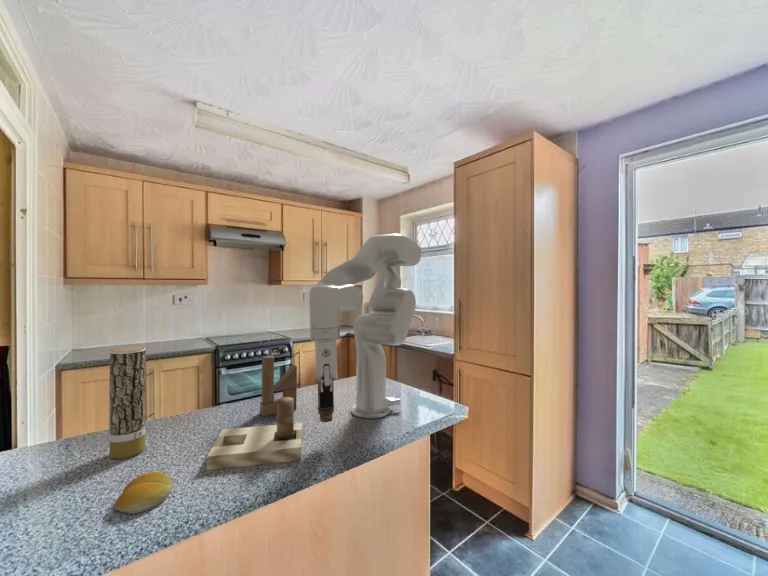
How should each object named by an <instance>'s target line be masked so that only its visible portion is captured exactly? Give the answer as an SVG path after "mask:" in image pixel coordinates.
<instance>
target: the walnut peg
mask: <svg viewBox="0 0 768 576" xmlns="http://www.w3.org/2000/svg"><path fill="white" fill-rule="evenodd" d="M322 379H324V377H322ZM329 379H330V377H329ZM323 384H324V382H323ZM334 384H335V383H334V379H333V378H332V391H333V407H329V408H320V392H321V381H319V380H318V379H317V411H318V414H319V421H320V422H322V423H329V422H332V421H333V414H334V413H335V403H334V402H335V401H334V398H335V397H334V389H335V388H334V387H335V386H334Z"/></svg>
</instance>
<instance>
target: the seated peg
mask: <svg viewBox="0 0 768 576" xmlns="http://www.w3.org/2000/svg"><path fill="white" fill-rule="evenodd" d="M277 399H278V400H277V414H276V425H277V434H276V437H277V441H284V440H293V436H294V431H293V428H294V419H295V418H294V416H295V415H294V411H295V410H294V398H292V397H283V396H282V397H279V398H277Z"/></svg>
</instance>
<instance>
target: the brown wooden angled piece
mask: <svg viewBox="0 0 768 576" xmlns="http://www.w3.org/2000/svg"><path fill="white" fill-rule="evenodd" d="M297 372H298V366H296V365H295V364H292V365H291V366H290V367H289V368H287V370H286V371H285V373H284V374H283V375H282V376H281V377H280V378H279V380H277V382H276V383H275V356H274V355H265V356H262V358H261V401H260V403H259V413H260V415H261V416H262V417H267V416H271V415H277V400H278V399H279V398H276V399H275V396H274V395H275V392H280V391H282V397H292V398H294V411H295V410H297V383H298V382H297V379H298V378H297V377H298V376H297V375H298V373H297Z"/></svg>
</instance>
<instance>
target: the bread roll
mask: <svg viewBox="0 0 768 576" xmlns="http://www.w3.org/2000/svg"><path fill="white" fill-rule="evenodd" d="M172 488H173V481H172V479H171V478H170V476H169V475H167V474H166V473H164V472H161V471H150V472H146V473H143V474H140V475H138V476H137V477H135V478H133V480H131V481H130V482H128V484H127V485H125V487H124V489H123V490H122V493H121V494H120V495H119V497H118V498H117V499H116V502H115V509H116V511H118V512H122V513H125V514H138V513H142V512H145V511H148V510H150V509H152V508H154V507H157V506H158V505H160V504H161V503H163V502H165V501H166V499H167V498H169V496H170V494H171V493H172Z"/></svg>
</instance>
